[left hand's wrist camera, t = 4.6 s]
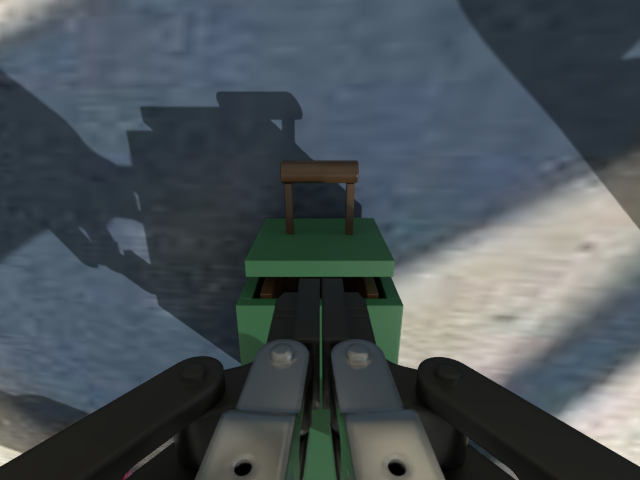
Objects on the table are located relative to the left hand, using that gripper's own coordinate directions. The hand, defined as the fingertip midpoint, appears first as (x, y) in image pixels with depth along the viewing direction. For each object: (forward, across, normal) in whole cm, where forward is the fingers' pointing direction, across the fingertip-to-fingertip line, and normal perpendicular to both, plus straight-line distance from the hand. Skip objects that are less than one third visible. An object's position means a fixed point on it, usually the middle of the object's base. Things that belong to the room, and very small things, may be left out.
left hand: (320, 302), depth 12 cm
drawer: (+20, 0, +8) cm, 21 cm away
